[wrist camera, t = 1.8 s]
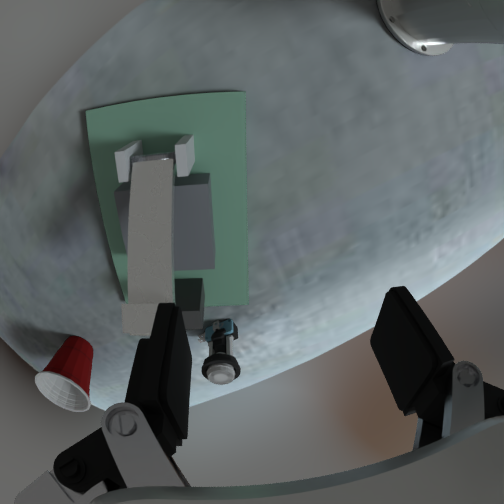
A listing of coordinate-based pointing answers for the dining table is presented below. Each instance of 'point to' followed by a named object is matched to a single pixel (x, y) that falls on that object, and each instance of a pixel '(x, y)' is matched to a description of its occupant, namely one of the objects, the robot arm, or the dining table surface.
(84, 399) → the plastic cup
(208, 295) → the board
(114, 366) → the dining table surface
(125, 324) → the retention strap
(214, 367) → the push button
